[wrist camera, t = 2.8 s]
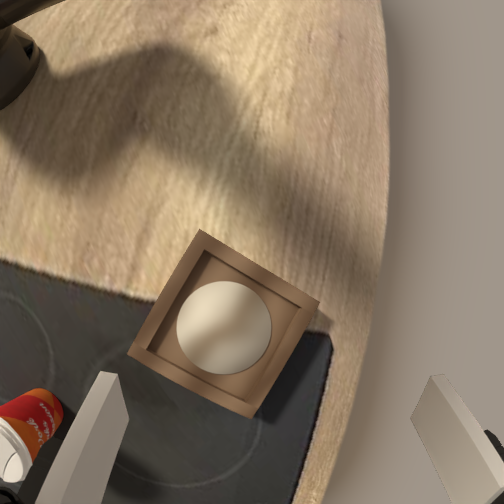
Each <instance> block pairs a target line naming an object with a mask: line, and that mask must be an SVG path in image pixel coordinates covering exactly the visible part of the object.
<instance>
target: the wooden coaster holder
mask: <svg viewBox="0 0 504 504" xmlns="http://www.w3.org/2000/svg"><path fill="white" fill-rule="evenodd" d="M319 303H320V302H319V301H317V300H316V299H314V298H312V297H311V296H309V295H307V294H306V293H304V292H302V291H301V290H299V289H297V288H296V287H294V286H292V285H291V284H289V283H288V282H286V281H284V280H283V279H281V278H279V277H278V276H276V275H274V274H273V273H271V272H269V271H268V270H266V269H264V268H263V267H261V266H260V265H258V264H256V263H255V262H253V261H251V260H250V259H248V258H246V257H245V256H243V255H241V254H240V253H238V252H237V251H235V250H233V249H232V248H230V247H228V246H227V245H225V244H223V243H222V242H220V241H219V240H217V239H215V238H214V237H212V236H210V235H209V234H207V233H205V232H204V231H202V230H201V229H199V231H198V232H197V234H196V236H195V237H194V239H193V240H192V242H191V244H190V245H189V247H188V249H187V250H186V252H185V254H184V255H183V257H182V259H181V260H180V262H179V263H178V265H177V267H176V268H175V270H174V272H173V274H172V275H171V277H170V279H169V280H168V282H167V284H166V285H165V287H164V289H163V291H162V292H161V294H160V296H159V297H158V299H157V301H156V303H155V304H154V306H153V308H152V310H151V311H150V313H149V315H148V317H147V318H146V320H145V322H144V324H143V326H142V327H141V329H140V331H139V333H138V334H137V336H136V338H135V340H134V342H133V344H132V345H131V347H130V349H129V351H128V353H127V354H128V355H129V356H131V357H133V358H134V359H136V360H137V361H139V362H141V363H142V364H144V365H146V366H148V367H149V368H151V369H153V370H154V371H156V372H158V373H160V374H161V375H163V376H165V377H167V378H169V379H170V380H172V381H174V382H176V383H178V384H180V385H181V386H183V387H185V388H187V389H189V390H191V391H193V392H195V393H197V394H199V395H201V396H203V397H205V398H207V399H209V400H211V401H213V402H215V403H217V404H219V405H221V406H223V407H225V408H228V409H230V410H232V411H234V412H236V413H238V414H241V415H243V416H245V417H247V418H250V419H252V417H253V416H254V414H255V413H256V411H257V410H258V408H259V406H260V405H261V403H262V402H263V400H264V398H265V397H266V395H267V394H268V392H269V390H270V389H271V387H272V386H273V384H274V382H275V381H276V379H277V377H278V376H279V374H280V372H281V371H282V369H283V367H284V366H285V364H286V362H287V360H288V359H289V357H290V355H291V354H292V352H293V350H294V348H295V347H296V345H297V343H298V341H299V340H300V338H301V336H302V334H303V333H304V331H305V329H306V327H307V325H308V324H309V322H310V320H311V318H312V316H313V314H314V313H315V311H316V309H317V307H318V305H319Z"/></svg>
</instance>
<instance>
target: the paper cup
mask: <svg viewBox="0 0 504 504" xmlns="http://www.w3.org/2000/svg"><path fill="white" fill-rule="evenodd" d="M62 419H63V408H62V406H61V403H60V402H59V400H58V399H57V398H56V396H55V395H54V394H52V393H51V392H50V391H48V390H46V389H42V388H37V389H33V390H31V391H29V392H27V393H25V394H23V395H21V396H19V397H17V398H15V399H14V400H12V401H10V402H8V403H6V404H4V405H2V406H0V477H1V478H2V479H3V481H6V482H18V481H22V480H24V479H25V477H26V475H27V473H28V471H29V469H30V467H31V466H32V463H33V461H34V459H35V457H37V454H38V452H39V450H40V448H41V446H42V444H44V443H45V442H46V441H47V440H48V439H50V438H51V437H52V436H53V434H54V433H55V431H56V430H57V428H58V427H59V425H60V424H61V422H62Z"/></svg>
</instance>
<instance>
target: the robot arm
mask: <svg viewBox="0 0 504 504" xmlns="http://www.w3.org/2000/svg"><path fill="white" fill-rule="evenodd" d="M62 1H65V0H0V110H1V109H2V108H4V107H5V106H7V105H8V104H9V103H11V102H12V101H13V100H14V99H15V98H16V97H17V96H18V95H19V94H20V93H21V92H22V91H23V90H24V88H25V87H26V86H27V84H28V83H29V82H30V80H31V79H32V77H33V75H34V73H35V71H36V69H37V66H38V63H39V58H40V53H39V49H38V47H37V45H36V43H35V41H34V40H33V39H32V37H30V36H29V35H28V34H26V33H25V32H23V31H22V30H20V29H19V28H17V27H16V26H14V25H13V23H15V22H17V21H19V20H21V19H23V18H25V17H28V16H30V15H32V14H34V13H36V12H38V11H41V10H43V9H45V8H48V7H50V6H52V5H55V4H57V3H60V2H62ZM411 420H412V422H413V424H414V426H415V428H416V430H417V432H418V434H419V436H420V438H421V440H422V442H423V444H424V446H425V448H426V450H427V452H428V454H429V456H430V458H431V460H432V462H433V464H434V466H435V469H436V471H437V473H438V475H439V477H440V479H441V481H442V483H443V486H444V488H445V490H446V492H447V494H448V496H449V499H450V501H451V503H452V504H504V448H503V446H501V445H502V444H501V443H500V441H499V440H498V438H497V437H496V436H495V435H494V434H493V433H491V432H490V431H489V430H485V431H483V430H482V428H481V427H480V425H479V424H478V422H477V421H476V419H475V418H474V416H473V415H472V413H471V412H470V410H469V409H468V408H467V406H466V405H465V403H464V402H463V400H462V399H461V398H460V397H459V395H458V393H457V392H456V391H455V389H454V388H453V386H452V385H451V384H450V382H449V381H448V380H447V378H446V377H445V376H444V374H441V375H435V376H431V377H430V378H429V381H428V383H427V385H426V388H425V390H424V392H423V394H422V396H421V398H420V400H419V402H418V404H417V406H416V408H415V410H414V413H413V414H412V416H411ZM128 421H129V417H128V413H127V410H126V406H125V402H124V399H123V395H122V391H121V387H120V383H119V378H118V374H114V373H108V372H102V371H100V373H99V375H98V377H97V378H96V380H95V382H94V384H93V386H92V388H91V389H90V391H89V393H88V395H87V397H86V399H85V401H84V402H83V404H82V406H81V408H80V410H79V412H78V414H77V416H76V418H75V420H74V422H73V424H72V425H71V427H70V429H69V431H68V433H67V435H66V437H65V439H64V440H61V439H57V438H54V437H51V438H50V439H48V440H47V441H46V442H45V443H44V444H42V446H41V448H40V450H39V452H38V454H37V457H35V459H34V461H33V463H32V466H31V467H30V469H29V471H28V473H27V475H26V477H25V479H24V481H23V483H22V485H21V487H20V489H19V492H18V494H17V495H16V494H15V493H14V492H13V491H12V490H11V489H9V488H6V487H0V504H101V501H102V498H103V495H104V492H105V488H106V485H107V482H108V479H109V476H110V473H111V470H112V467H113V464H114V461H115V458H116V455H117V452H118V449H119V446H120V444H121V441H122V438H123V435H124V432H125V429H126V427H127V424H128Z"/></svg>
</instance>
